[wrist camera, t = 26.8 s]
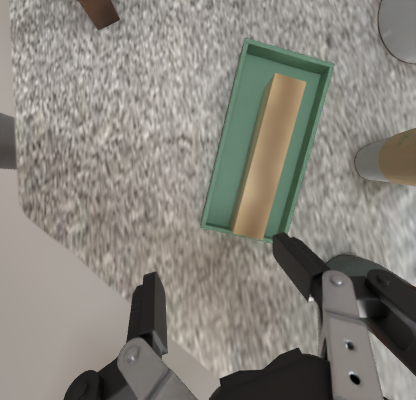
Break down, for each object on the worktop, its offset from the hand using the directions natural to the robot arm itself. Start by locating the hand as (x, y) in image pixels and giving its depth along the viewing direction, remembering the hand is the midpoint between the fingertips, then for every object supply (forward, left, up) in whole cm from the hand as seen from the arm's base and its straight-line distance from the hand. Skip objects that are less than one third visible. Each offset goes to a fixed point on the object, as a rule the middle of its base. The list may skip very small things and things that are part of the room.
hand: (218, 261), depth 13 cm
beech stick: (+11, +4, -18) cm, 21 cm away
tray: (+12, +5, -19) cm, 23 cm away
